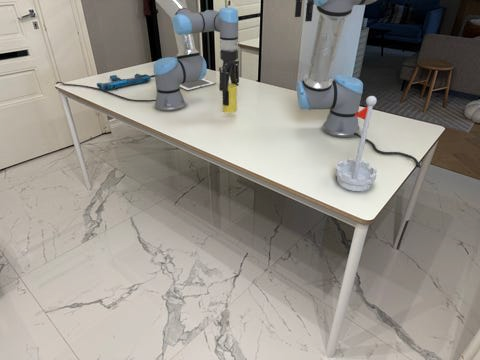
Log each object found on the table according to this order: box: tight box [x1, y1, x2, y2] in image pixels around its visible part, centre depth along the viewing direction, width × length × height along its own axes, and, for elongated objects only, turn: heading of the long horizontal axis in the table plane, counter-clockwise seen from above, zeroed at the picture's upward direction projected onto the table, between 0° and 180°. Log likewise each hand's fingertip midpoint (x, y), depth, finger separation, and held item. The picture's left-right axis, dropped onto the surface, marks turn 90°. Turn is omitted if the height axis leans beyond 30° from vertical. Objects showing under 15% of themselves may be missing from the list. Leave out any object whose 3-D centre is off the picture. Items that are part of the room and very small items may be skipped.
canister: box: [221, 82, 238, 114], centre depth 153 cm, size 6×6×12 cm
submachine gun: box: [96, 73, 155, 91], centre depth 208 cm, size 34×4×25 cm
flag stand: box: [334, 95, 378, 192], centre depth 107 cm, size 13×13×30 cm
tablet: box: [180, 78, 216, 91], centre depth 211 cm, size 32×20×1 cm, turn 41°
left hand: (229, 102), depth 154 cm, fingers closed on canister, 6 cm apart
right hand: (302, 19), depth 155 cm, fingers open, 13 cm apart
